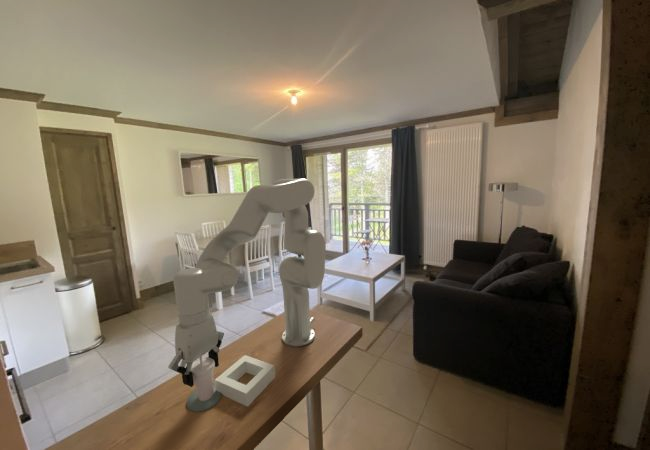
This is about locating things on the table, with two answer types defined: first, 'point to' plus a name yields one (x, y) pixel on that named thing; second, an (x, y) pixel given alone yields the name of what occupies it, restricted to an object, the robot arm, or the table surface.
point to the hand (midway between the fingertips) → (202, 374)
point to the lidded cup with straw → (203, 377)
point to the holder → (250, 391)
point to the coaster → (200, 406)
